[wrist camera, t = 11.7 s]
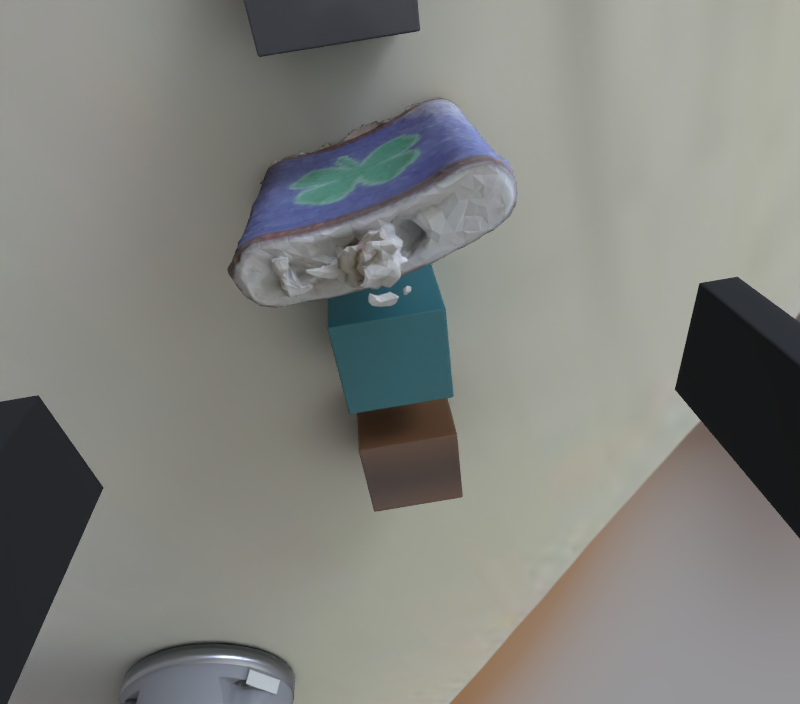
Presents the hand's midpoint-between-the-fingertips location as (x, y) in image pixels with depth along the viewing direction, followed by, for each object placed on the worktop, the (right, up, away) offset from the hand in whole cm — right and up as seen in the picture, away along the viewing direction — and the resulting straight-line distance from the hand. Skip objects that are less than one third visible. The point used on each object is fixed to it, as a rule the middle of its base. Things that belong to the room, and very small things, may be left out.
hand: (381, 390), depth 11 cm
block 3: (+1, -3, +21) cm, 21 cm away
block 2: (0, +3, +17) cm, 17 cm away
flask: (-1, +9, +12) cm, 15 cm away
